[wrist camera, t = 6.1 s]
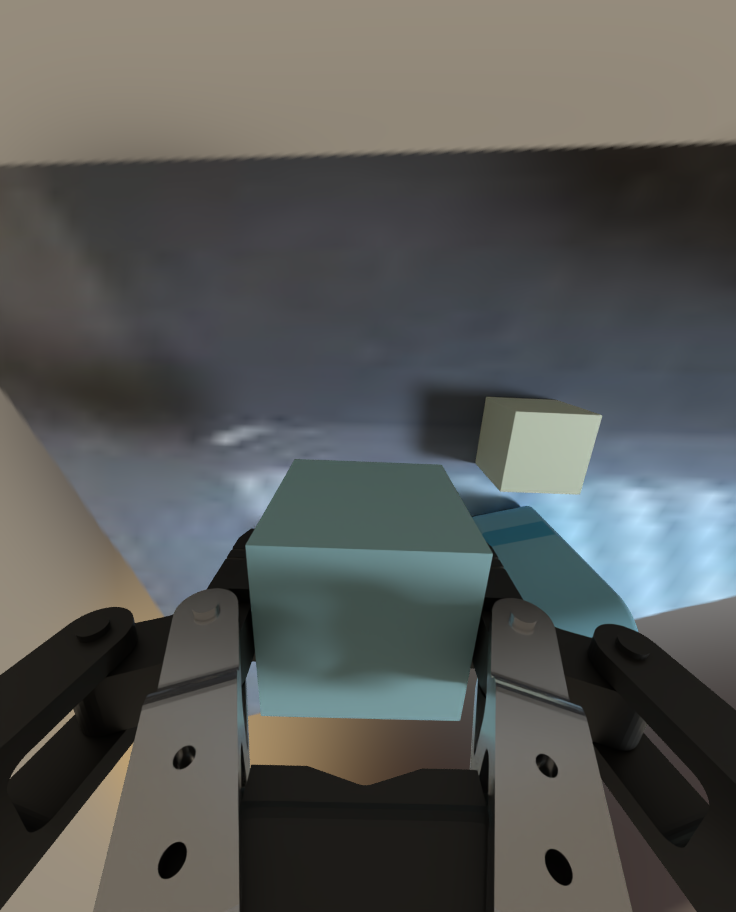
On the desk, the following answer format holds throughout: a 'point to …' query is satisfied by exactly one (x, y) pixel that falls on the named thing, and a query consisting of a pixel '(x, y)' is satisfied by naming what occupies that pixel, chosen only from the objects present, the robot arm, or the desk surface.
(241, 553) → the robot arm
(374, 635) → the teal block
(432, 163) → the desk surface
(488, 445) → the sage block
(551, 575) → the data package
